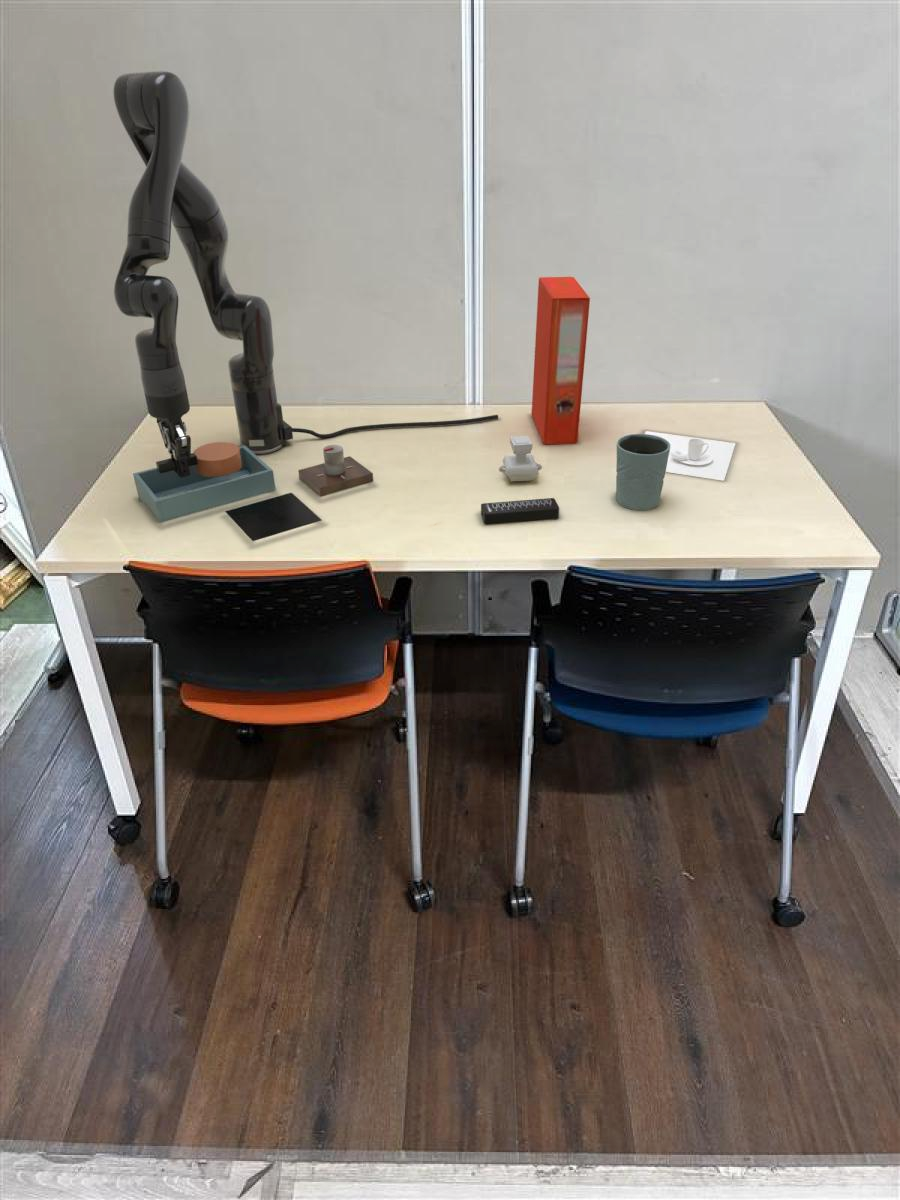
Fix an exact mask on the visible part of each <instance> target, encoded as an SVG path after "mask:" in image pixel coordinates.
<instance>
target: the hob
mask: <svg viewBox="0 0 900 1200" xmlns="http://www.w3.org/2000/svg"><path fill="white" fill-rule="evenodd" d="M224 512H225V513H226V514H227V515H228V516H229V517H230V519H231V520H232V521H233V522H234V523H235V524H236V525H237V526H238V527H239V528H240V530H242V532H243V533H244V534H245V535H246V536H247V538H249V539H250V540H251V541H252V542H256V541H259V540H262V539H266V538H270V537H272V536H275V535H279V534H282V533H285V532H288V531H292V530H295V529H299V528H301V527H305V526H308V525H311V524H315V523H318V522H321V521H322V520H323V519H321V517H319V516H318V515H317V513H315V512H314V511H312V509H310V508H309V507H308V506H307V505H306V504H305V503H304V502H303V501H301V500H300V498H298V497H297V496H296V495H295V494H294V493H293V492H288V493H284V494H281V495H277V496H274V497H271V498H266V499H264V500H260V501H256V502H252V503H248V504H245V505H242V506H239V507H236V508H232V509H229V510H225V511H224Z"/></svg>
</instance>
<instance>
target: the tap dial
mask: <svg viewBox="0 0 900 1200" xmlns="http://www.w3.org/2000/svg"><path fill="white" fill-rule="evenodd" d="M322 451H323V463H325V472H326V474H328V475H332V476H336V475H341V474H343V473H344V472H345V464H344V458H345V455H344V447H343V446H342V445H340V444H330V445H326V446H324V447H323V449H322Z"/></svg>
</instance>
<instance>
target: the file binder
mask: <svg viewBox="0 0 900 1200" xmlns="http://www.w3.org/2000/svg"><path fill="white" fill-rule="evenodd" d="M590 302H591V297H590V296H589V294H588V293H587V292H586V291H585V289H584V288H583V287H582V286H581V284H580V283H579V282H578V280H577V279H576V278H575V277H574V276H544V277H543V276H541V277H540V276H539V277H538V287H537V303H536V304H537V305H536V322H535V323H536V324H535V343H534V345H535V346H534V360H533V362H534V363H533V378H532V379H533V380H532V398H531V399H532V400H531V417H532V419H533V422H534V424H535V426H536V429H537V432H538V434H539V436H540V439H541V442H542V444H543V445H569V444H571V445H572V444H578V441H579V430H580V428H579V427H580V420H581V419H580V418H581V407H582V396H583V394H582V393H583V385H584V373H585V372H584V371H585V362H586V361H585V359H586V348H587V339H588V338H587V337H588V326H589V315H590Z"/></svg>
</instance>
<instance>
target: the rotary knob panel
mask: <svg viewBox="0 0 900 1200" xmlns="http://www.w3.org/2000/svg"><path fill="white" fill-rule="evenodd" d="M344 464H345V472H344V473H343V474H341V475H336V476H332V475H328V474H326V472H325V463H324V462H323V463H319V464H316V465H312V466H308V467H305V468H301V469H298V470H297V472H298V478H299V480H300V481H301V482H303V483H304V484H305V485H306V486H307V487H308V488H310V489H311V490H312V491H313V492H314V493H315V494H316V495H318V496H319V497H324V496H329V495H331V494H335V493H338V492H341V491H345V490H348V489H352V488H355V487H359V486H362V485H365V484H369V483H373V482H374V473H373V472H372V471H371V470H369V469H368V468H367V467H365V466H364V465H363V464H362V463H360V462H359V461H358V460H356V459H355V458H353V457H352V456H351V455H349V456H344Z"/></svg>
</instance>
